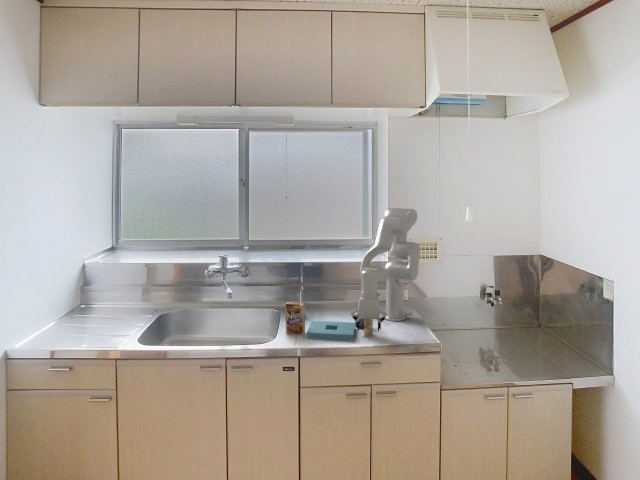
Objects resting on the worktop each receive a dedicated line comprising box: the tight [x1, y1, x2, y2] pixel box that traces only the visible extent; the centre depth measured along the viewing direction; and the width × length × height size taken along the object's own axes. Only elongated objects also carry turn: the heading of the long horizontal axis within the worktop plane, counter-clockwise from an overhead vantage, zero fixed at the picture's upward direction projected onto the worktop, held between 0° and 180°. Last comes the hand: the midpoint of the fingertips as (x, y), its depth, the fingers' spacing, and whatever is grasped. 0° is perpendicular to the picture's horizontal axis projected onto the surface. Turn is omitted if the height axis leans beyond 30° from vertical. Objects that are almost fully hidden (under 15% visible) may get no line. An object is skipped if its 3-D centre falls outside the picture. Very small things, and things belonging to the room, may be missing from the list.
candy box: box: [285, 301, 306, 336], centre depth 187 cm, size 9×4×15 cm, turn 73°
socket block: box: [306, 320, 356, 342], centre depth 187 cm, size 22×16×3 cm
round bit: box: [354, 312, 364, 330], centre depth 196 cm, size 6×6×8 cm
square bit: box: [363, 319, 374, 338], centre depth 184 cm, size 4×4×9 cm
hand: (368, 329), depth 184 cm, fingers open, 9 cm apart
